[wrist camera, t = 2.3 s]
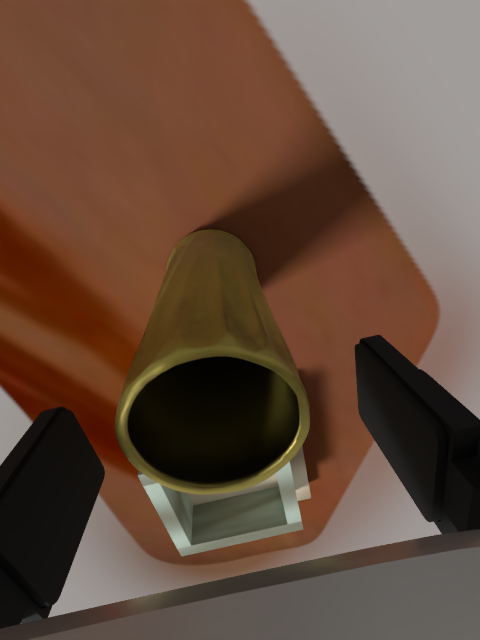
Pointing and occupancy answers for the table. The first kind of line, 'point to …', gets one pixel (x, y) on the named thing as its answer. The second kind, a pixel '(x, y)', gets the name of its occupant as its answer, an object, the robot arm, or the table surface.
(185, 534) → the vase stand
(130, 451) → the vase
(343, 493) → the table surface
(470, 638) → the robot arm
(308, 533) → the table surface
